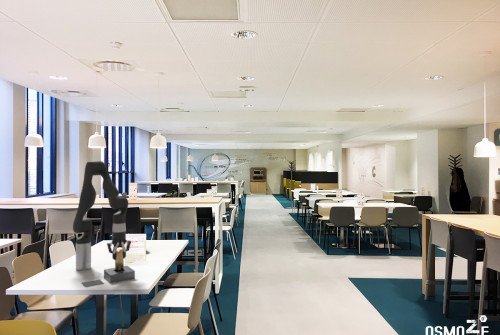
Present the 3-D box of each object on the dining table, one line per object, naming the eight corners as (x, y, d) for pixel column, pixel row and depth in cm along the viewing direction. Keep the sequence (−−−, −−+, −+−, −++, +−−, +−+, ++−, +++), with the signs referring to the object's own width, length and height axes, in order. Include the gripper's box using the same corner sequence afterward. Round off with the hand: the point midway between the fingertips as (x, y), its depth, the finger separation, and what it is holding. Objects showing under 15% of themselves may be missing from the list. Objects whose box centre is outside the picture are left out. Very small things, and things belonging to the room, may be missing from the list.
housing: (103, 277, 216) (103, 269, 216) (127, 273, 224) (127, 265, 224) (110, 283, 204) (110, 275, 204) (134, 279, 213) (134, 270, 213)
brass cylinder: (114, 268, 215) (113, 250, 215) (122, 266, 218) (121, 248, 217) (116, 270, 211) (116, 251, 211) (124, 268, 214) (124, 250, 214)
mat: (81, 283, 206) (81, 282, 206) (99, 279, 211) (99, 279, 211) (85, 288, 198) (85, 287, 198) (104, 284, 203) (104, 283, 203)
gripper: (129, 228, 221) (129, 255, 221) (104, 230, 213) (105, 259, 213) (133, 230, 215) (133, 258, 215) (108, 232, 207) (108, 262, 207)
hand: (119, 258), depth 214 cm, fingers closed on brass cylinder, 5 cm apart
